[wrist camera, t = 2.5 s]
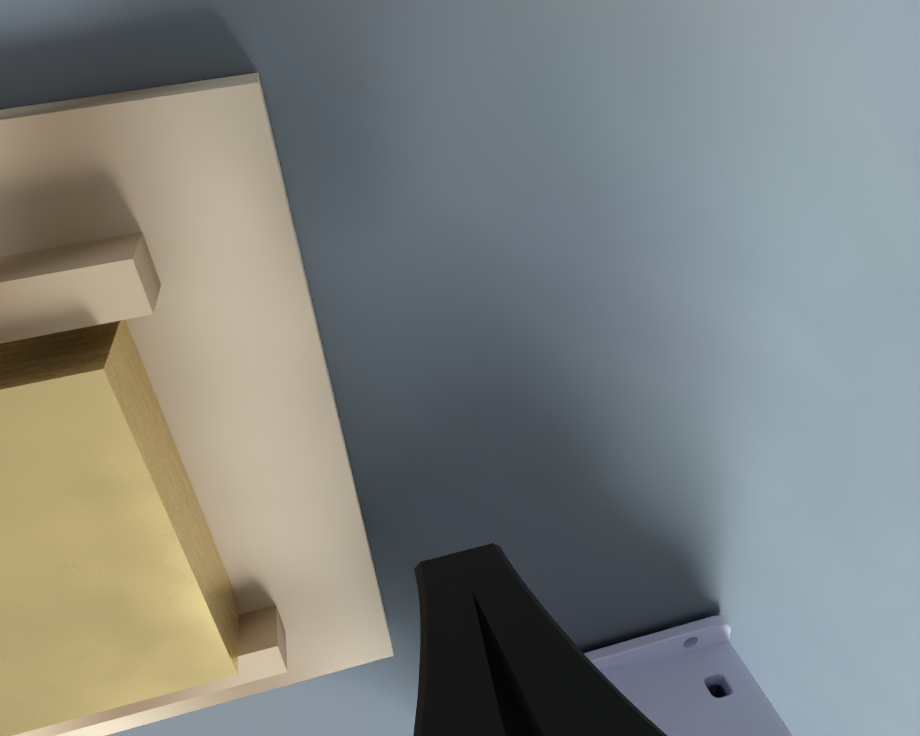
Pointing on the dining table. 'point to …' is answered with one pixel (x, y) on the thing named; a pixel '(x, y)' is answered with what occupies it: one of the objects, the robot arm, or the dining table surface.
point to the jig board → (202, 353)
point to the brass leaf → (99, 538)
